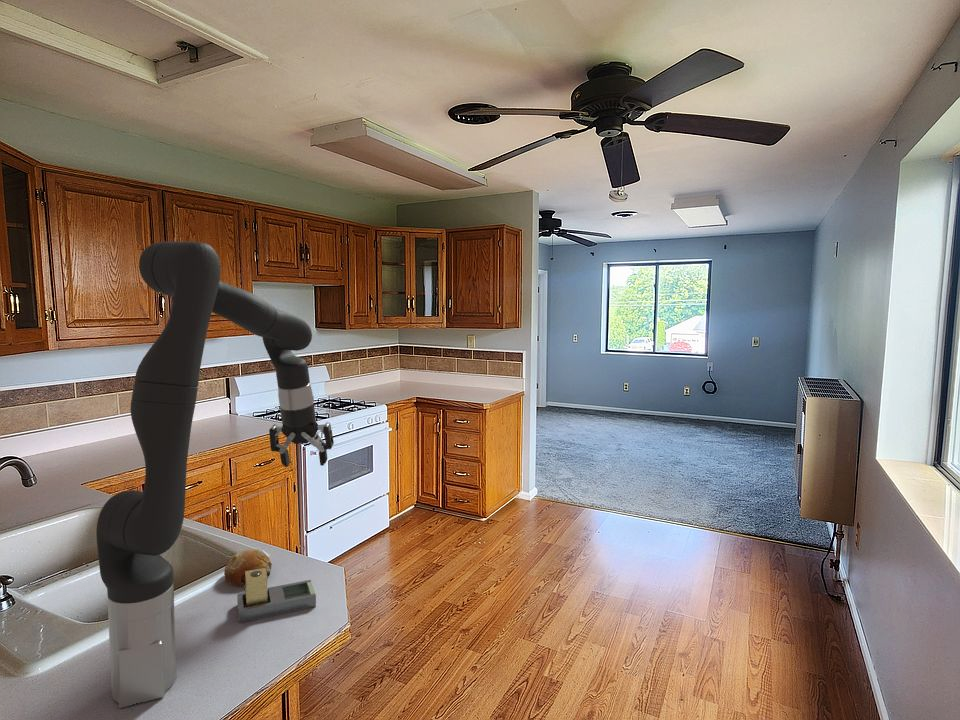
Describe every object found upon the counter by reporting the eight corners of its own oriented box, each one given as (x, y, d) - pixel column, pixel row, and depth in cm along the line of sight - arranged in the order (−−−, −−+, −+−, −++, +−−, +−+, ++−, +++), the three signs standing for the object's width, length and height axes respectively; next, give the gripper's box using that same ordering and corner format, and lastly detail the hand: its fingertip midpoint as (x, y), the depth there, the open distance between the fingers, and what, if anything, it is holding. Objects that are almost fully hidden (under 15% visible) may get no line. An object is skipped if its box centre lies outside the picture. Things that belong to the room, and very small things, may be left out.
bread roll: (262, 578, 133) (255, 545, 134) (282, 574, 126) (275, 540, 128) (222, 594, 125) (214, 559, 126) (241, 591, 119) (233, 555, 120)
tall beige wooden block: (267, 613, 112) (267, 576, 111) (246, 617, 111) (246, 580, 110) (265, 603, 116) (265, 567, 115) (245, 607, 114) (245, 570, 113)
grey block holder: (315, 606, 115) (315, 595, 115) (239, 623, 109) (238, 611, 108) (310, 590, 121) (310, 579, 121) (237, 604, 115) (237, 593, 114)
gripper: (260, 410, 122) (270, 474, 127) (323, 407, 122) (331, 471, 127) (270, 397, 129) (280, 458, 134) (331, 395, 129) (338, 456, 134)
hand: (305, 464), depth 130 cm, fingers open, 8 cm apart
